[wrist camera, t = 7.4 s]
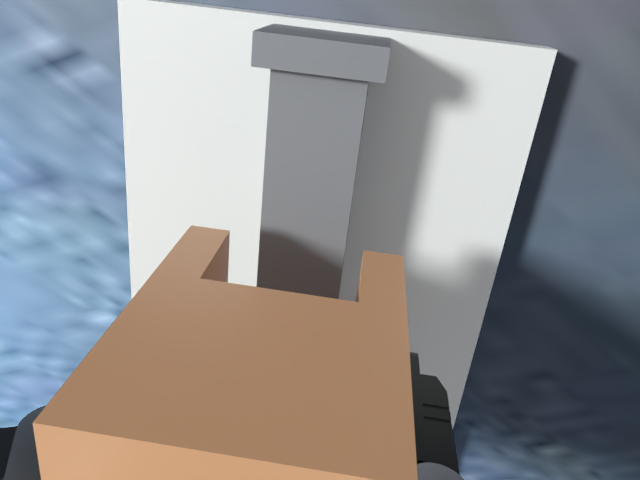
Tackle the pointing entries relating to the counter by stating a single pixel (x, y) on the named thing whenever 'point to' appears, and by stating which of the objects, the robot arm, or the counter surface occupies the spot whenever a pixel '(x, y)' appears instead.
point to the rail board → (404, 165)
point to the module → (239, 381)
